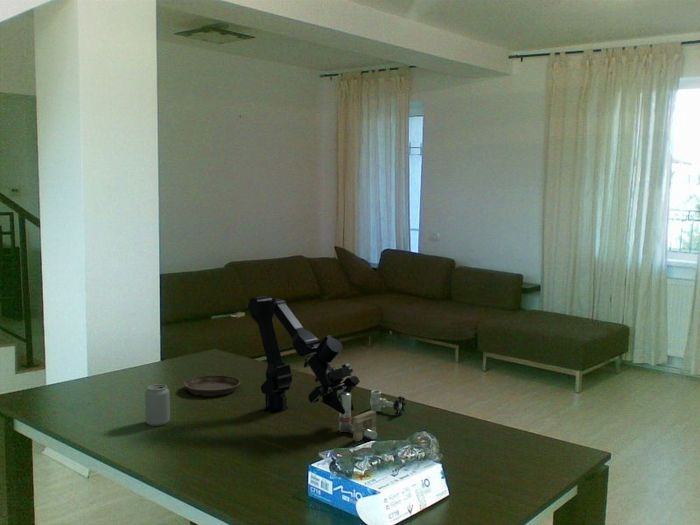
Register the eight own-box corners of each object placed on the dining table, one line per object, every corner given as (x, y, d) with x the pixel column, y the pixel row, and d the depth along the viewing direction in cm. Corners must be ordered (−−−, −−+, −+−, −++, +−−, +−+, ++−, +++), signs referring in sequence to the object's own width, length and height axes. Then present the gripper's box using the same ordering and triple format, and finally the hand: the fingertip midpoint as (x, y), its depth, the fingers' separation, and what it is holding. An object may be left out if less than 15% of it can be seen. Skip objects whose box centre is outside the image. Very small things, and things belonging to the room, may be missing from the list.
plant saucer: (213, 379, 267) (213, 371, 266) (251, 389, 255) (251, 380, 254) (172, 392, 250) (172, 383, 250) (210, 402, 238) (210, 393, 238)
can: (174, 421, 218) (174, 384, 217) (159, 428, 211) (158, 391, 210) (156, 417, 221) (155, 381, 220) (140, 424, 214) (139, 387, 213)
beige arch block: (353, 441, 202) (353, 417, 201) (370, 433, 208) (371, 410, 207) (358, 442, 201) (358, 418, 200) (376, 435, 207) (376, 411, 206)
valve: (365, 412, 229) (396, 418, 222) (365, 393, 228) (396, 399, 222) (375, 406, 234) (405, 413, 228) (375, 388, 234) (406, 394, 227)
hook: (335, 431, 209) (335, 393, 208) (344, 427, 213) (344, 390, 211) (370, 442, 200) (370, 403, 199) (379, 438, 203) (380, 400, 202)
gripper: (315, 361, 203) (342, 405, 197) (355, 351, 217) (382, 391, 211) (296, 382, 209) (322, 425, 203) (337, 370, 223) (362, 410, 217)
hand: (348, 412), depth 208 cm, fingers closed on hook, 4 cm apart
